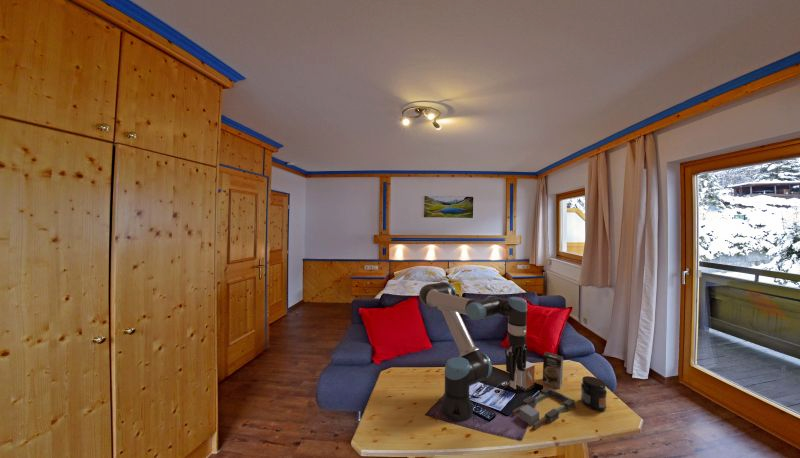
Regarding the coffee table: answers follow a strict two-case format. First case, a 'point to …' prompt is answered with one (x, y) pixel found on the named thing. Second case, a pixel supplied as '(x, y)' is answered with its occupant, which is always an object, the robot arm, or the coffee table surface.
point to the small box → (527, 375)
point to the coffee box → (552, 369)
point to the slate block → (529, 414)
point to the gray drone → (550, 415)
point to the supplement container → (593, 393)
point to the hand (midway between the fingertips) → (515, 385)
